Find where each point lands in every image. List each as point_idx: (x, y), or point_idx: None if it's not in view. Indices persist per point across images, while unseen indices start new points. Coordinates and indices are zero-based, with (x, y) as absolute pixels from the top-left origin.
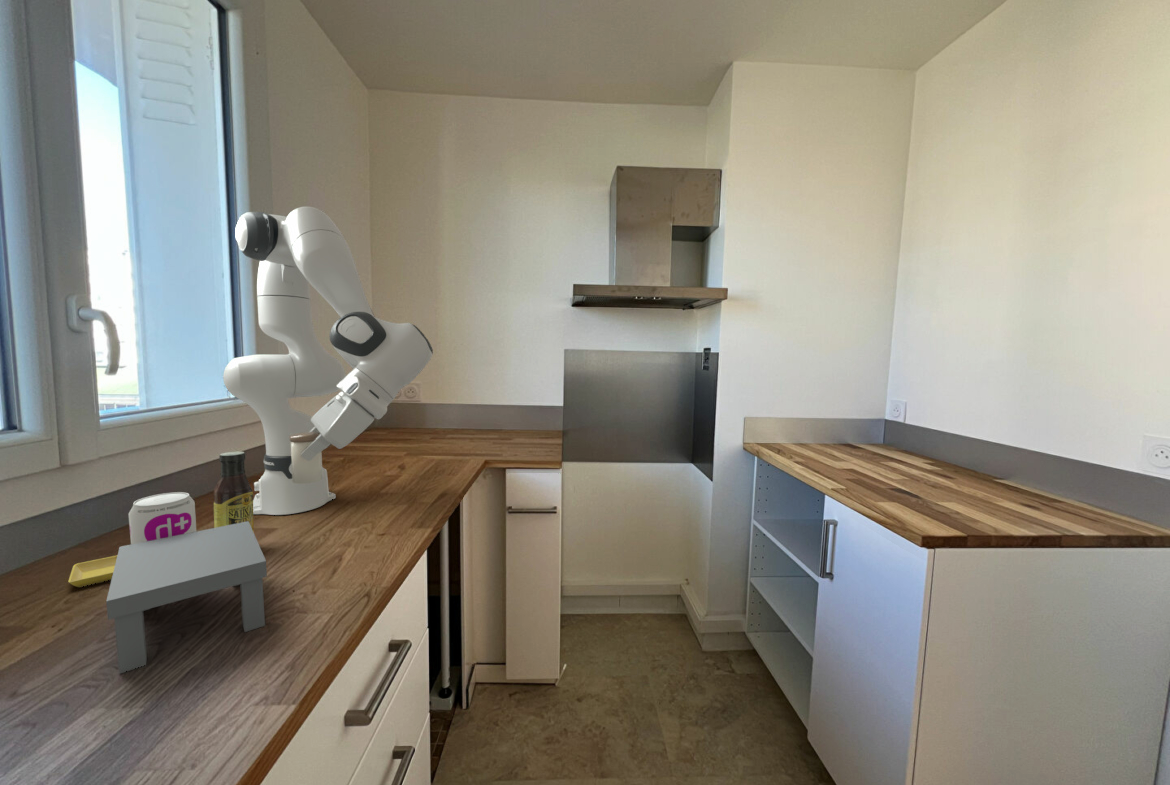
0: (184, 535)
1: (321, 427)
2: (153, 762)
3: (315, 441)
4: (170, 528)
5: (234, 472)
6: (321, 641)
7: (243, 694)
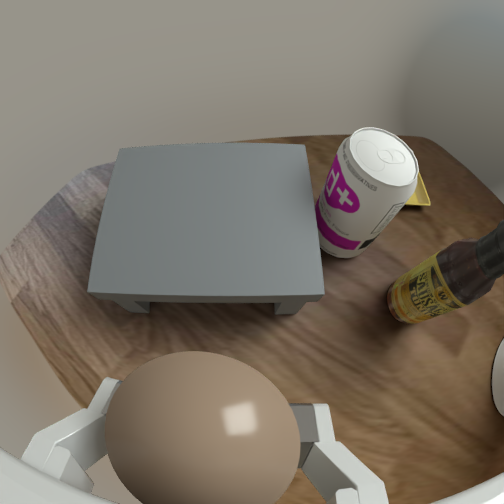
0: (305, 203)
1: (5, 476)
2: (30, 227)
3: (44, 430)
4: (334, 185)
5: (481, 256)
6: (60, 348)
7: (42, 276)
